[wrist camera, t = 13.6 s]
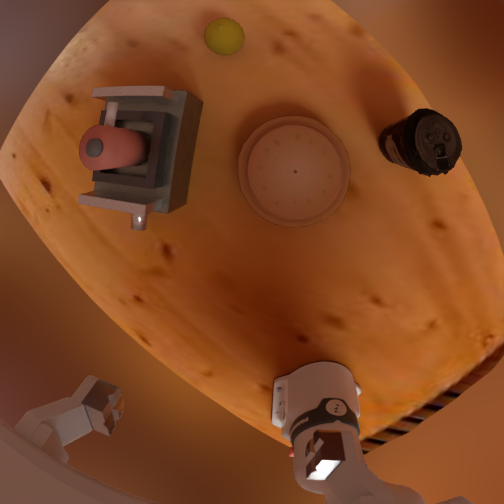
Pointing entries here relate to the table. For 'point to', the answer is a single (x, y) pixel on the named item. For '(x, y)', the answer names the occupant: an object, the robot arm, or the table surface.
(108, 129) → the pink cylinder with stub
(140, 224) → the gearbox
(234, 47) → the lemon
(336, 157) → the pie
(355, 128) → the table surface
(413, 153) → the coffee cup
